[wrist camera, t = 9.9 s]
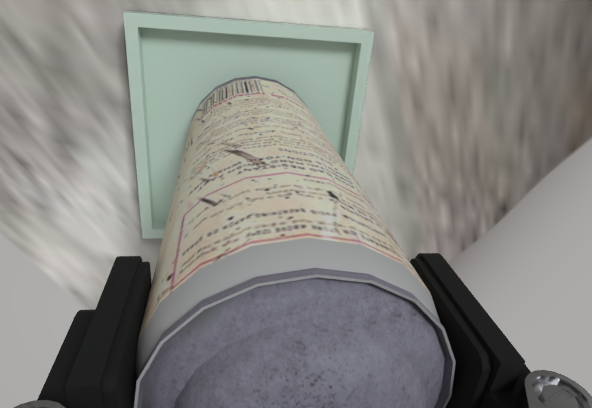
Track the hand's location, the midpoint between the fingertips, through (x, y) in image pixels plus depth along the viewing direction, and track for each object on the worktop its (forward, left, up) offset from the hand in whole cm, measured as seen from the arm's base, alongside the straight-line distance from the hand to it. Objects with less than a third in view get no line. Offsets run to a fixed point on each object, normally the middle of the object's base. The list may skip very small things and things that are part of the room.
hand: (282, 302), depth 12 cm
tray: (0, 0, -15) cm, 15 cm away
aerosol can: (0, 0, -14) cm, 14 cm away
